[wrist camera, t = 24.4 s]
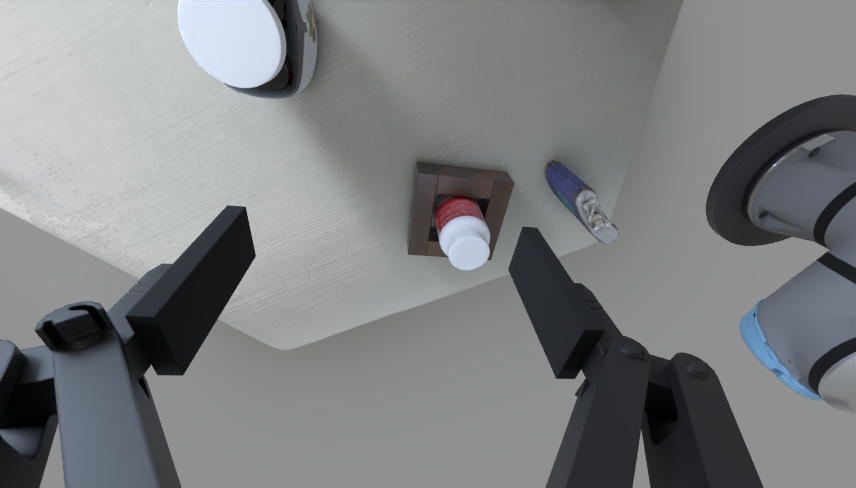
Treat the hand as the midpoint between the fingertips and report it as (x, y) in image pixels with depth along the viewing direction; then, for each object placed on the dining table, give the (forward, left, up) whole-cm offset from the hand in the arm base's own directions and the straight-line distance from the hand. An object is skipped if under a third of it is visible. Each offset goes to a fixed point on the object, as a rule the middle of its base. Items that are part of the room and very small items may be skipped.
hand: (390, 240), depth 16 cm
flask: (-24, +7, -27) cm, 36 cm away
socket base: (-9, +12, -27) cm, 30 cm away
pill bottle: (-9, +12, -27) cm, 31 cm away
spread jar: (+14, -7, -27) cm, 31 cm away
